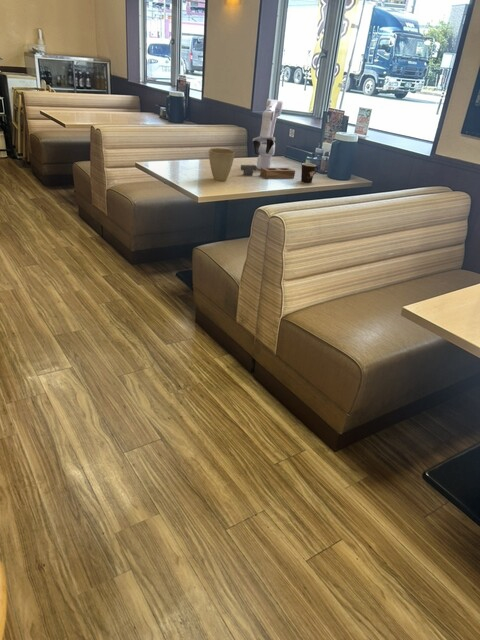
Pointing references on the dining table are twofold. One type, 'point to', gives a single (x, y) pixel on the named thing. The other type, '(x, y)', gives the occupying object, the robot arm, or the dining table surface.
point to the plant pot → (221, 162)
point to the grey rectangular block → (248, 169)
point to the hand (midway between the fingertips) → (261, 153)
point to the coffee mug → (308, 172)
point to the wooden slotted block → (277, 172)
